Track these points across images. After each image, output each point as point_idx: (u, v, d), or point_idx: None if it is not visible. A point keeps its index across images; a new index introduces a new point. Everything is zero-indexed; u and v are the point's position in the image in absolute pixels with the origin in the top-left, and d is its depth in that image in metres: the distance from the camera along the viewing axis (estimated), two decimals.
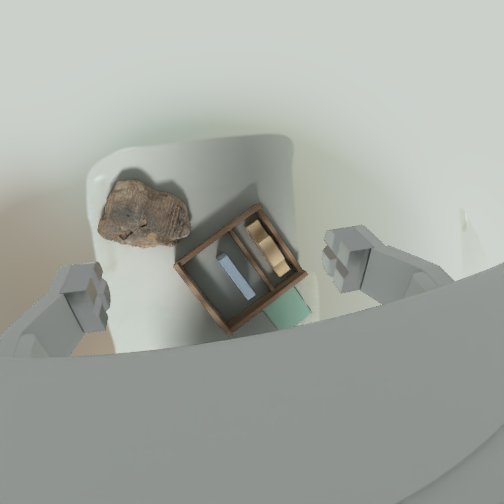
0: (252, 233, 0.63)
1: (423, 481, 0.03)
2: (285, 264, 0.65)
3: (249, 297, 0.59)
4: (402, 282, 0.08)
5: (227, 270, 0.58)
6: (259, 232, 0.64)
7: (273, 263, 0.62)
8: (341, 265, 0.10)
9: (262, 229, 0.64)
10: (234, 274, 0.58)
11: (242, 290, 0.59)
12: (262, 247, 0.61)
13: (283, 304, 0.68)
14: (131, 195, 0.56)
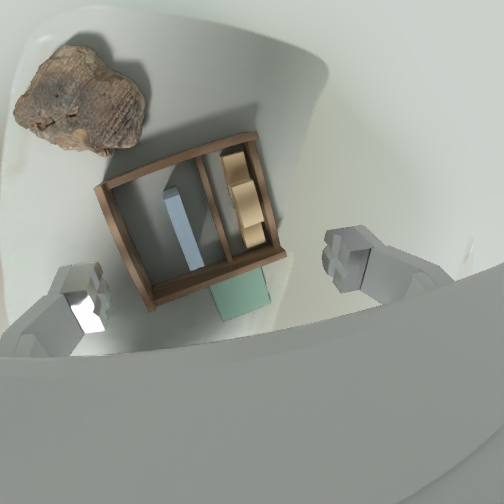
0: (228, 168, 0.39)
1: (423, 481, 0.03)
2: (261, 233, 0.44)
3: (194, 267, 0.38)
4: (402, 282, 0.08)
5: (172, 217, 0.35)
6: (239, 170, 0.40)
7: (245, 223, 0.40)
8: (341, 265, 0.10)
9: (244, 167, 0.40)
10: (181, 226, 0.35)
11: (186, 254, 0.37)
12: (236, 195, 0.38)
13: (237, 283, 0.48)
14: (71, 66, 0.26)
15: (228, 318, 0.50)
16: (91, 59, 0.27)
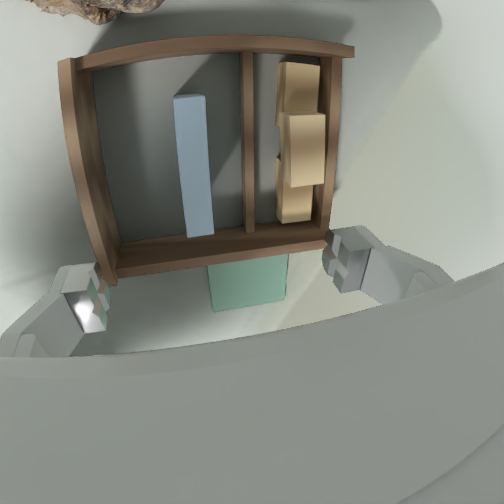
0: (289, 81, 0.21)
1: (423, 481, 0.03)
2: (308, 205, 0.28)
3: (195, 232, 0.21)
4: (402, 282, 0.08)
5: (180, 135, 0.17)
6: (305, 90, 0.21)
7: (294, 179, 0.23)
8: (341, 265, 0.10)
9: (314, 90, 0.22)
10: (192, 154, 0.18)
11: (188, 207, 0.20)
12: (293, 130, 0.21)
13: (249, 264, 0.32)
14: None
15: (222, 309, 0.35)
16: None
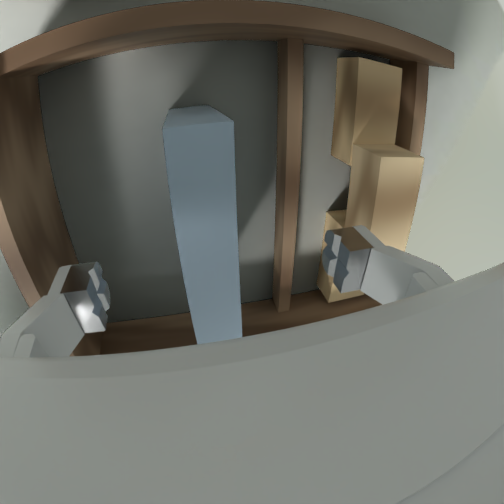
0: (362, 89, 0.12)
1: (423, 481, 0.02)
2: None
3: None
4: (402, 282, 0.08)
5: (182, 206, 0.09)
6: (383, 105, 0.13)
7: None
8: (341, 265, 0.10)
9: (395, 105, 0.13)
10: (206, 242, 0.10)
11: (201, 323, 0.11)
12: (383, 180, 0.13)
13: None
14: None
15: None
16: None
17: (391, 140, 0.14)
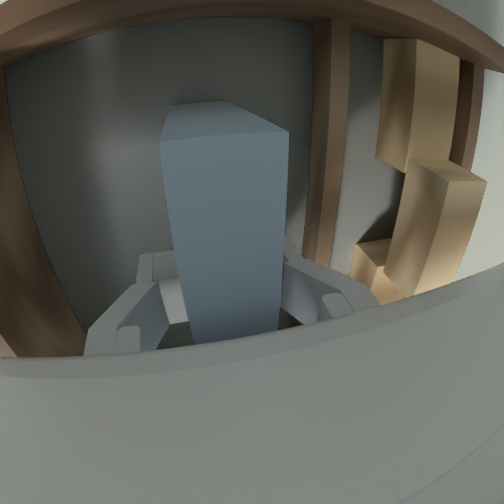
0: (421, 79, 0.09)
1: (423, 481, 0.03)
2: None
3: None
4: (320, 302, 0.08)
5: (195, 273, 0.05)
6: (441, 100, 0.09)
7: (419, 291, 0.12)
8: None
9: (452, 100, 0.09)
10: (233, 319, 0.06)
11: None
12: (446, 209, 0.09)
13: None
14: None
15: None
16: None
17: (447, 142, 0.10)
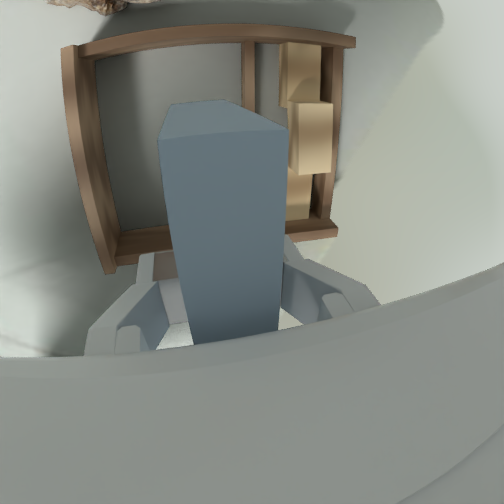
0: (291, 61, 0.20)
1: (423, 481, 0.03)
2: (306, 204, 0.28)
3: None
4: (319, 302, 0.08)
5: (195, 272, 0.05)
6: (307, 70, 0.21)
7: (302, 167, 0.23)
8: None
9: (317, 69, 0.21)
10: (232, 318, 0.06)
11: None
12: (302, 117, 0.21)
13: None
14: None
15: None
16: None
17: (316, 91, 0.22)
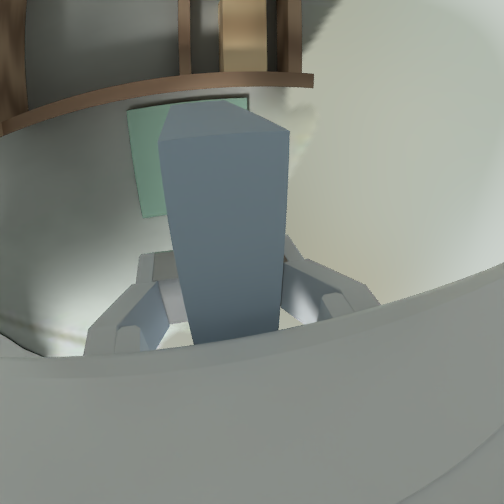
0: None
1: (423, 481, 0.03)
2: (262, 51, 0.16)
3: None
4: (319, 302, 0.08)
5: (195, 273, 0.05)
6: None
7: None
8: None
9: None
10: (233, 319, 0.06)
11: None
12: None
13: None
14: None
15: (154, 213, 0.23)
16: None
17: None
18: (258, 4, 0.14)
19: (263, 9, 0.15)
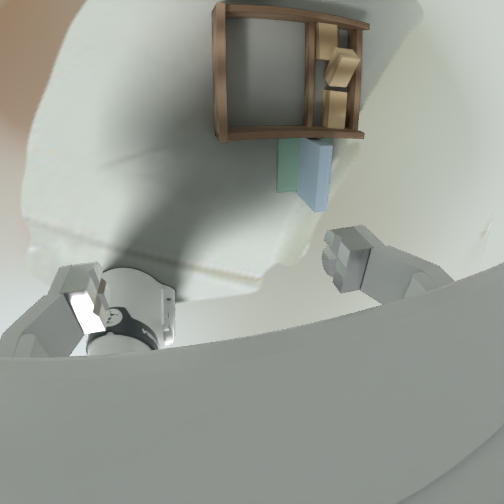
0: (321, 33, 0.32)
1: (423, 481, 0.02)
2: (343, 119, 0.40)
3: (318, 209, 0.42)
4: (402, 282, 0.08)
5: (320, 162, 0.38)
6: (330, 38, 0.32)
7: (332, 83, 0.36)
8: (341, 265, 0.10)
9: (335, 38, 0.32)
10: (324, 172, 0.39)
11: (317, 196, 0.41)
12: (341, 63, 0.32)
13: None
14: None
15: (283, 190, 0.47)
16: None
17: None
18: (344, 96, 0.38)
19: (345, 98, 0.38)
